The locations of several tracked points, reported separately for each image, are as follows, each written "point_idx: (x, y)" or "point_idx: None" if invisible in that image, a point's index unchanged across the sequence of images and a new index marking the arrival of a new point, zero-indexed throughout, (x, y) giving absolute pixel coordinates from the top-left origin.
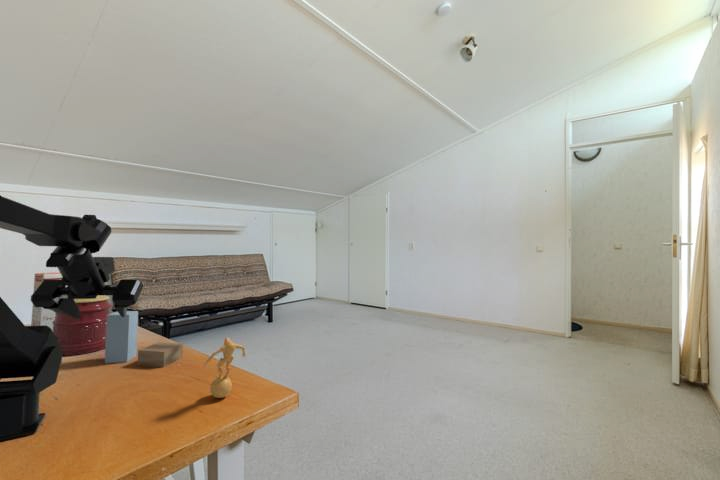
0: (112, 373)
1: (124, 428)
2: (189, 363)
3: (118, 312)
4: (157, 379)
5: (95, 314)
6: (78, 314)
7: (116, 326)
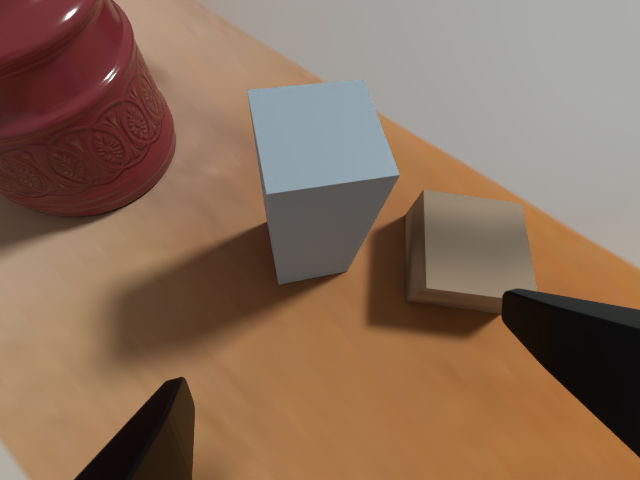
0: (380, 381)
1: None
2: (551, 276)
3: (632, 448)
4: (573, 429)
5: (75, 54)
6: (183, 423)
7: (321, 220)
